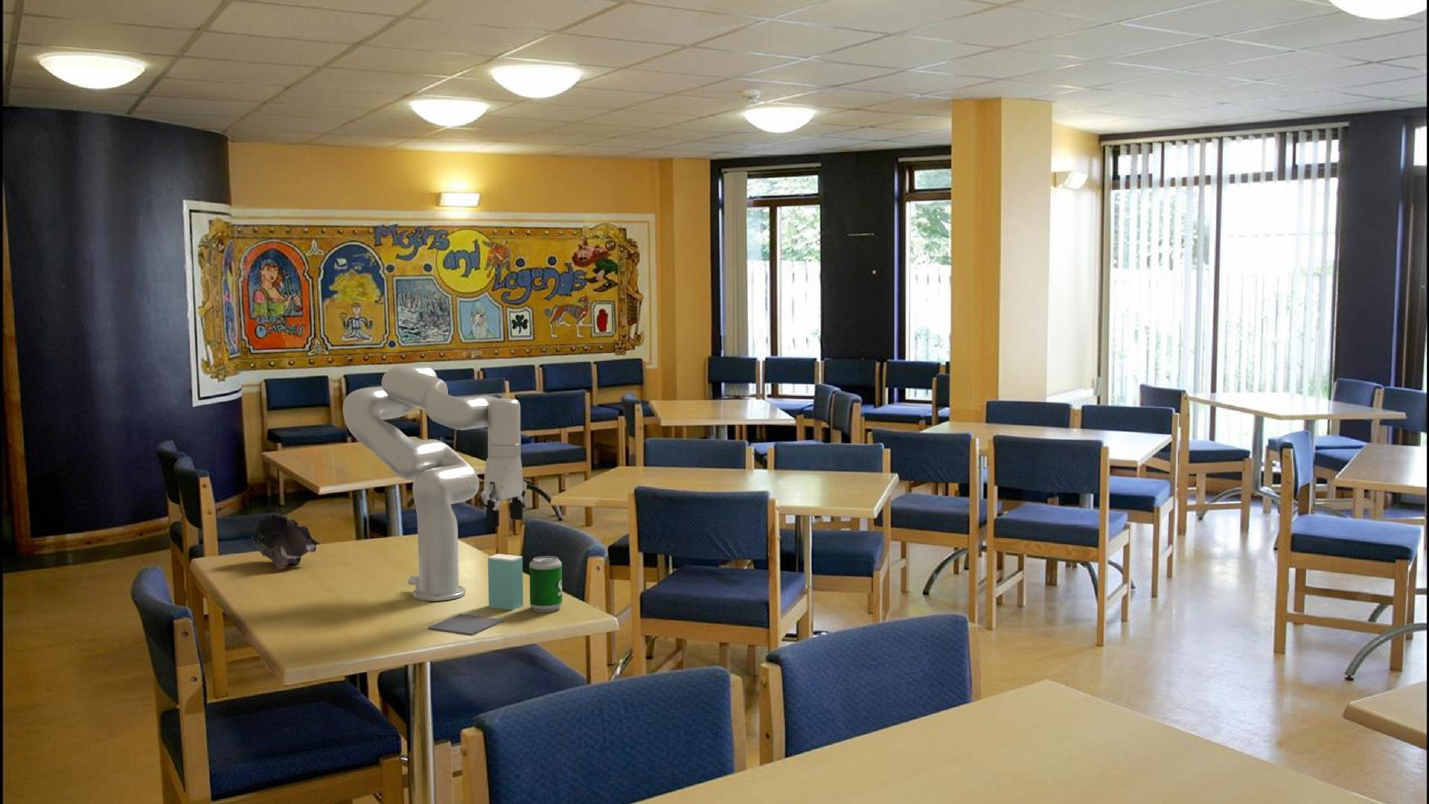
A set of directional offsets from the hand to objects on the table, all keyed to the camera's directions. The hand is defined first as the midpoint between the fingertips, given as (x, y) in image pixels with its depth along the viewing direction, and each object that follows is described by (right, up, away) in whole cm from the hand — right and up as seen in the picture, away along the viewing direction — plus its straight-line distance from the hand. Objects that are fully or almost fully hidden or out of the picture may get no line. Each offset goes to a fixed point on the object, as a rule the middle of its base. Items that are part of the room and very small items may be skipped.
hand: (504, 522), depth 269 cm
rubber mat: (-6, -21, -14) cm, 26 cm away
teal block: (0, -20, +2) cm, 20 cm away
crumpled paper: (-70, -17, +46) cm, 85 cm away
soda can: (+10, -21, 0) cm, 23 cm away
